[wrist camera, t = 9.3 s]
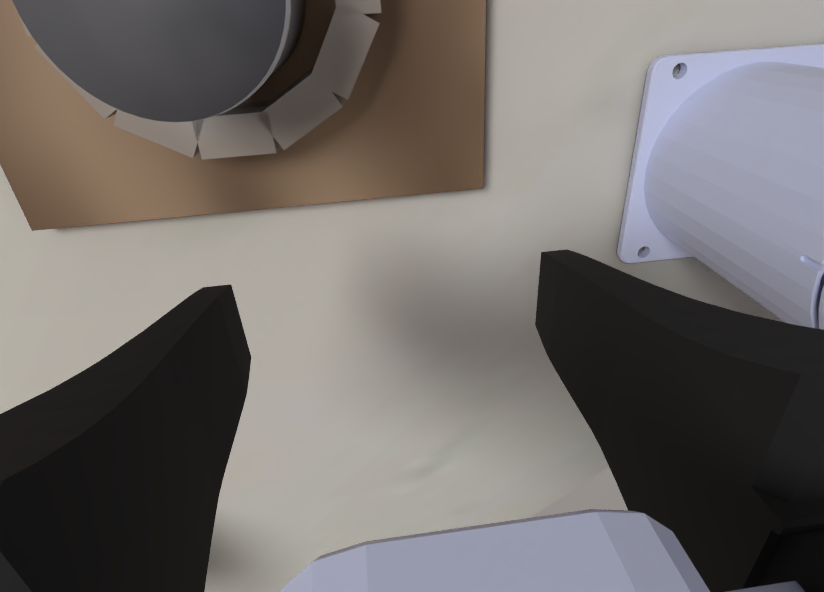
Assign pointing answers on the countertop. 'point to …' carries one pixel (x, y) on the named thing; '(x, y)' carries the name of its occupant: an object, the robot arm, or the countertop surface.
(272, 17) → the lens
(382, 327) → the countertop surface
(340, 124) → the mount board
